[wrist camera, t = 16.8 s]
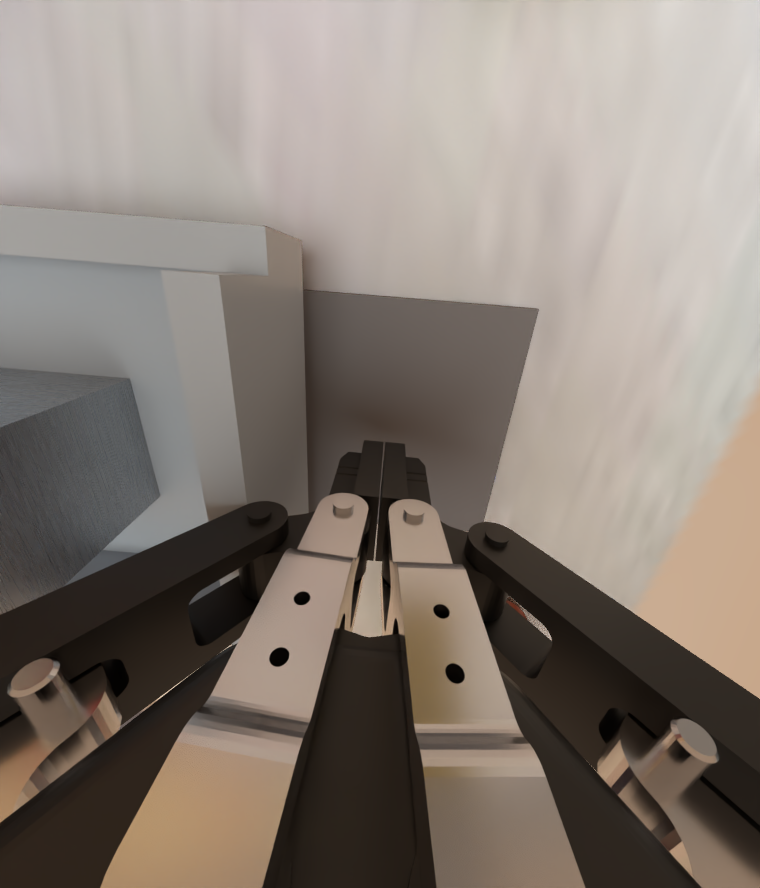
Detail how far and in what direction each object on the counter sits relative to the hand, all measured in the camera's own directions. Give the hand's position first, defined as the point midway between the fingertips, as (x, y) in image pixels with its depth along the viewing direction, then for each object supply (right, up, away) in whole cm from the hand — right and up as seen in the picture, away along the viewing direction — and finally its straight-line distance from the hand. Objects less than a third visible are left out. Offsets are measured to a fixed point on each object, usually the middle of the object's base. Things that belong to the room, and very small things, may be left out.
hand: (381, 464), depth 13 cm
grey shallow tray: (-10, +2, +3) cm, 11 cm away
